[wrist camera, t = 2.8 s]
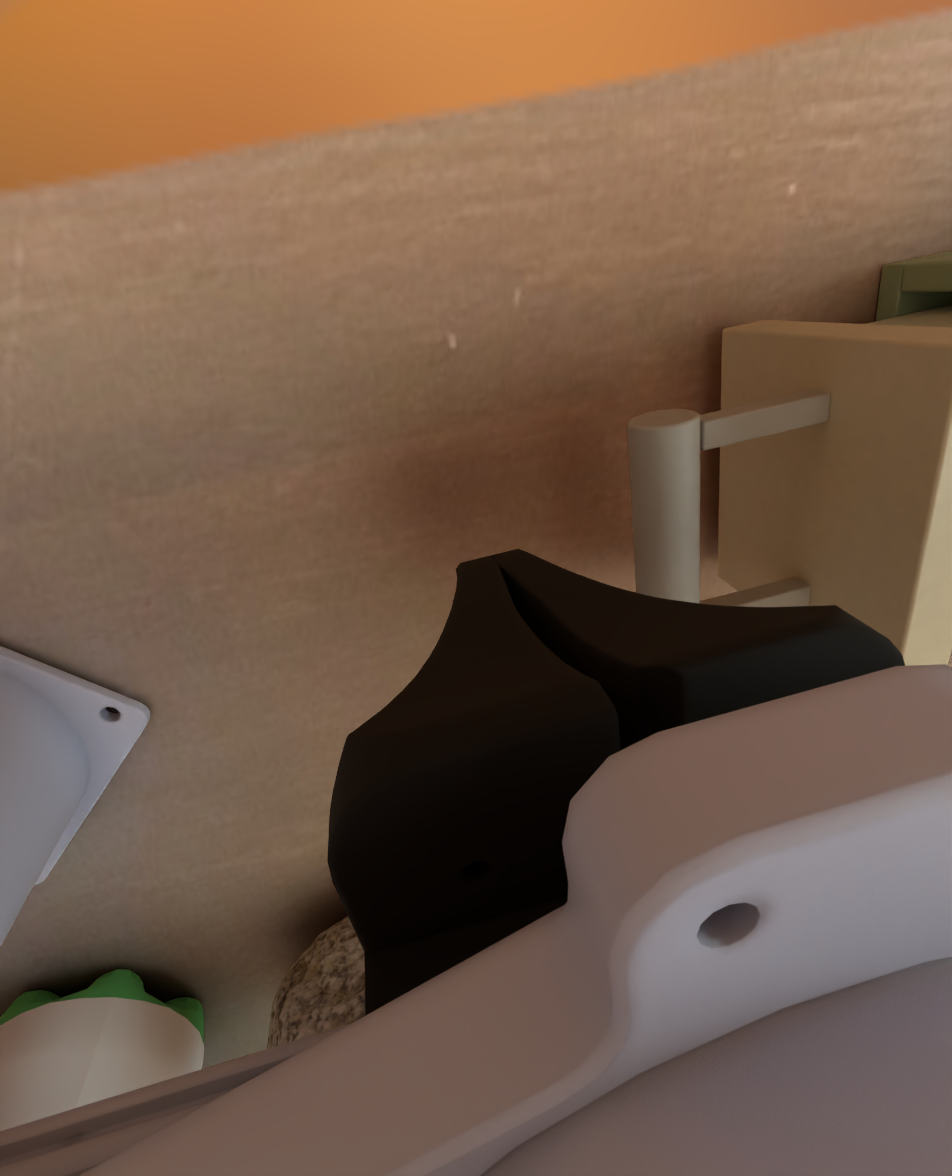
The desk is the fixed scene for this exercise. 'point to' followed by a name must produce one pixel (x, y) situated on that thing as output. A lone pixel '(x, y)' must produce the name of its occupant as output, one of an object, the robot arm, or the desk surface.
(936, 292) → the cabinet
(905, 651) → the drawer
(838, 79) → the desk surface
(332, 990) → the stone
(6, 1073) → the cup
